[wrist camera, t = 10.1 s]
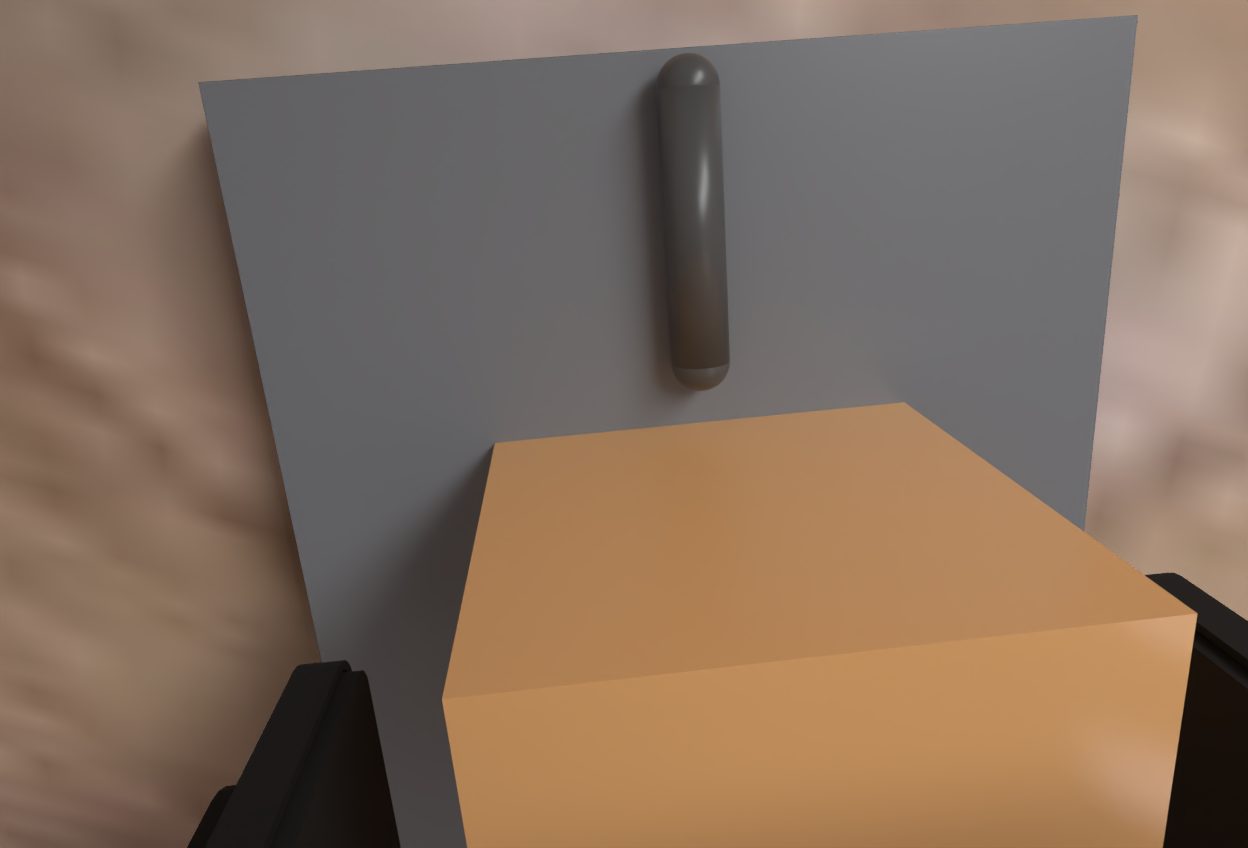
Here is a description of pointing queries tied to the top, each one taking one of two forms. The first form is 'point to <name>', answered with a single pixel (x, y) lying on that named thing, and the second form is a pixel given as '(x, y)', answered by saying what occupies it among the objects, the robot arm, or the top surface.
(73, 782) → the top surface
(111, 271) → the top surface
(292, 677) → the robot arm
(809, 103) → the plate
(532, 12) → the top surface
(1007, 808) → the tan wooden cube
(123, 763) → the top surface
